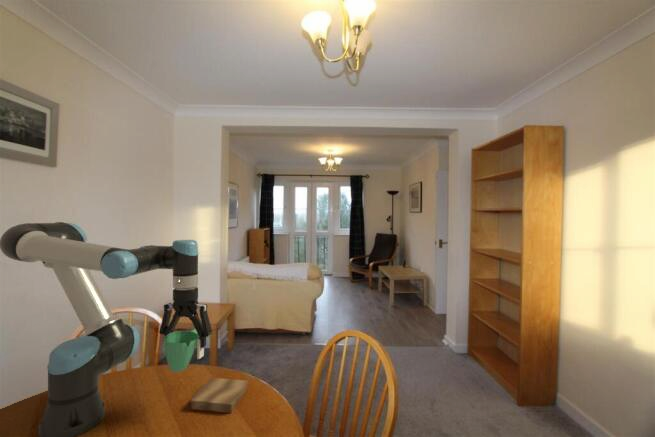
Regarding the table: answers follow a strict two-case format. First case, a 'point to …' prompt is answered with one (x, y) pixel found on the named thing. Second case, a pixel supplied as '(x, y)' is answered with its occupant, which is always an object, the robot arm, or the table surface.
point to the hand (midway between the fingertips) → (185, 356)
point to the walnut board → (219, 395)
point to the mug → (180, 348)
